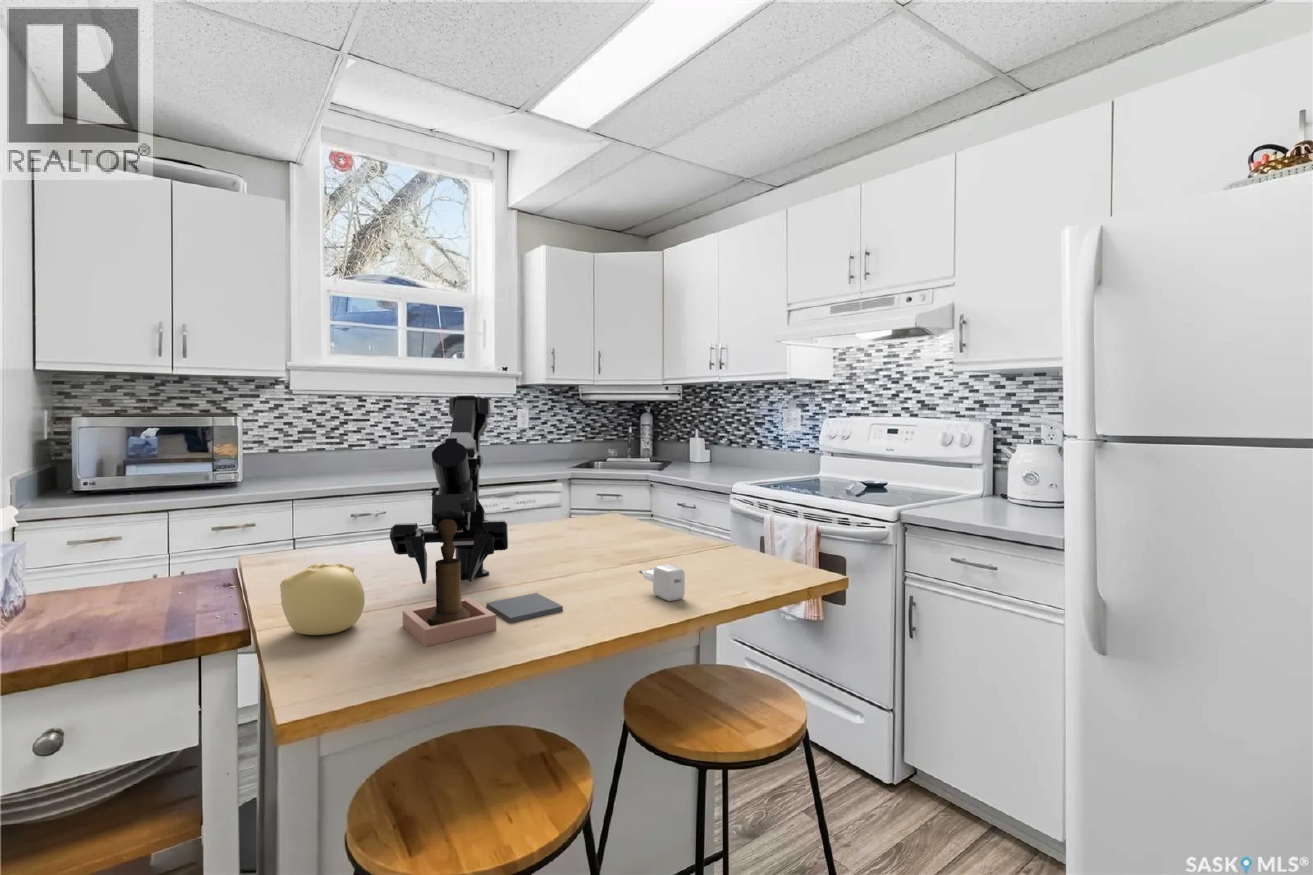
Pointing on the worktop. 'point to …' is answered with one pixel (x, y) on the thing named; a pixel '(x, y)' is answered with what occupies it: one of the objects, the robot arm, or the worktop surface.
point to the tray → (431, 635)
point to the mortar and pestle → (448, 580)
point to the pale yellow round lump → (322, 599)
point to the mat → (524, 607)
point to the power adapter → (666, 581)
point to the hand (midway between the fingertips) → (447, 581)
